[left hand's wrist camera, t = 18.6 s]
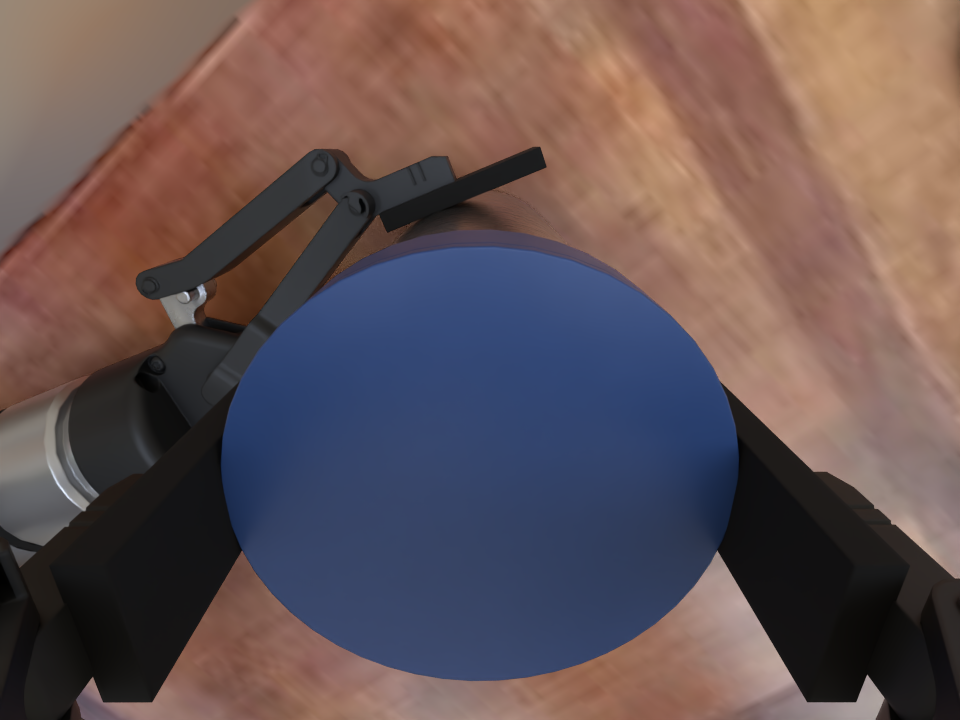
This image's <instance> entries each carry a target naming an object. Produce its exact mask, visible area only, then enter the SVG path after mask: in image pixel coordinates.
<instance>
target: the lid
mask: <svg viewBox="0 0 960 720" xmlns="http://www.w3.org/2000/svg"><path fill="white" fill-rule="evenodd" d="M738 472H739V451H738V442H737V434H736V426H735V423H734V419H733V416H732V412H731V409H730V405H729V402H728V398H727V396H726V394H725V391H724V389H723V387H722V385H721V383H720V381H719V379H718V377H717V375H716V373H715V370H714V368H713V367H712V365H711V364H710V362H709V361H708V359H707V358H706V357H705V355H704V354H703V352H702V351H701V349H700V348H699V346H698V345H697V344H696V342H695V341H694V340H693V338H692V337H691V336H690V335H689V334H688V333H687V332H686V331H685V330H684V329H683V328H682V327H681V326H680V325H679V324H678V323H677V322H676V321H675V319H674V318H673V317H672V316H671V315H670V314H668V313H667V312H666V311H665V310H664V309H663V308H662V307H660V306H659V305H658V304H657V303H656V302H655V301H654V300H652V299H651V298H650V297H649V296H648V295H647V294H645V293H644V292H643V291H642V290H641V289H640V288H638V287H637V286H636V285H635V284H633V283H632V282H631V281H629V280H628V279H627V278H626V277H624V276H623V275H622V274H621V273H619V272H618V271H617V270H615V269H614V268H612V267H610V266H608V265H607V264H605V263H603V262H601V261H600V260H598V259H596V258H594V257H593V256H591V255H589V254H587V253H585V252H582V251H580V250H577V249H575V248H572V247H570V246H567V245H565V244H562V243H560V242H557V241H554V240H550V239H546V238H542V237H538V236H534V235H530V234H526V233H518V232H509V231H500V230H456V231H450V232H444V233H437V234H431V235H425V236H421V237H418V238H414V239H411V240H408V241H404V242H401V243H398V244H394V245H391V246H389V247H387V248H385V249H383V250H380V251H378V252H376V253H374V254H372V255H369V256H367V257H365V258H363V259H361V260H360V261H358V262H356V263H355V264H353V265H352V266H350V267H349V268H347V269H346V270H344V271H342V272H341V273H339V274H338V275H336V276H335V277H334V278H333V279H331V280H330V281H329V282H328V283H327V284H326V285H324V286H323V287H322V288H321V289H320V290H319V291H318V292H316V293H315V294H314V295H313V296H312V297H311V298H309V299H308V300H307V301H306V302H305V303H304V304H303V305H301V306H300V307H299V308H298V309H297V310H296V311H295V312H293V313H292V314H291V315H290V316H289V317H288V318H287V319H286V320H284V321H283V322H282V323H281V324H280V325H279V326H278V327H277V329H276V330H275V331H274V332H273V333H272V335H271V336H270V337H269V338H268V339H267V340H266V342H265V343H264V344H263V345H262V346H261V347H260V349H259V350H258V351H257V353H256V355H255V356H254V358H253V360H252V361H251V363H250V364H249V366H248V368H247V369H246V371H245V373H244V374H243V376H242V378H241V380H240V382H239V385H238V387H237V390H236V392H235V395H234V397H233V399H232V402H231V404H230V407H229V411H228V415H227V420H226V424H225V428H224V432H223V439H222V454H221V475H222V484H223V489H224V494H225V499H226V503H227V508H228V512H229V516H230V521H231V525H232V528H233V530H234V533H235V535H236V537H237V540H238V542H239V545H240V547H241V549H242V551H243V552H244V554H245V556H246V557H247V559H248V561H249V563H250V564H251V566H252V568H253V569H254V571H255V572H256V574H257V575H258V576H259V578H260V579H261V580H262V581H263V583H264V584H265V585H266V587H267V588H268V589H269V590H270V592H271V593H272V594H273V595H274V596H275V597H276V598H277V599H278V600H279V601H280V602H281V603H282V604H283V605H284V606H285V607H286V608H287V609H288V610H289V611H290V612H291V613H292V614H293V615H295V616H296V617H297V618H298V619H300V620H301V621H302V622H304V623H305V624H306V625H307V626H309V627H310V628H311V629H312V630H314V631H315V632H317V633H319V634H320V635H322V636H323V637H325V638H327V639H328V640H330V641H331V642H333V643H334V644H336V645H338V646H340V647H342V648H344V649H346V650H348V651H350V652H352V653H354V654H356V655H358V656H360V657H363V658H365V659H368V660H371V661H373V662H376V663H379V664H382V665H384V666H387V667H390V668H394V669H398V670H402V671H405V672H409V673H413V674H418V675H423V676H429V677H435V678H441V679H453V680H466V681H492V680H507V679H516V678H526V677H531V676H536V675H541V674H546V673H551V672H555V671H559V670H562V669H565V668H569V667H572V666H575V665H579V664H582V663H584V662H587V661H589V660H591V659H594V658H596V657H599V656H601V655H604V654H606V653H608V652H610V651H612V650H614V649H616V648H617V647H619V646H621V645H623V644H625V643H627V642H629V641H630V640H632V639H634V638H635V637H637V636H638V635H640V634H641V633H642V632H644V631H645V630H647V629H648V628H650V627H651V626H653V625H654V624H655V623H657V622H658V621H659V620H660V619H661V618H662V617H664V616H665V615H666V614H667V613H668V612H669V611H671V610H672V609H673V608H674V607H675V606H676V605H677V604H678V603H679V602H680V601H681V600H682V599H683V598H684V597H685V595H686V594H687V593H688V592H689V591H690V590H691V589H692V588H693V587H694V586H695V584H696V583H697V581H698V580H699V579H700V577H701V576H702V574H703V573H704V572H705V570H706V569H707V567H708V566H709V565H710V563H711V561H712V559H713V557H714V555H715V554H716V552H717V550H718V548H719V546H720V544H721V542H722V540H723V538H724V535H725V532H726V530H727V526H728V522H729V518H730V513H731V509H732V504H733V500H734V495H735V491H736V486H737V481H738Z"/></svg>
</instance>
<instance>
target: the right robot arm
mask: <svg viewBox="0 0 960 720" xmlns="http://www.w3.org/2000/svg"><path fill="white" fill-rule="evenodd" d="M544 168H546V164H545V160H544V157H543V154H542V151H541V148H540V147H532V148H530V149H527V150H525V151H523V152H520V153H518V154H515V155H513V156H511V157H508V158H506V159H503V160H501V161H499V162H496V163H494V164H491V165H489V166H487V167H484V168H482V169H479V170H477V171H475V172H472V173H470V174H468V175H465V176H463V177H460V178H458V179H456V176H455V174H454V171H453V168H452V166H451V163H450V161H449V158H448V156H432V157H429V158H427V159H424V160H422V161H420V162H418V163H415V164H413V165H410V166H408V167H406V168H403V169H401V170H399V171H396V172H394V173H392V174H389V175H387V176H385V177H382V178H380V179H378V180H373V179H369V178H367V177H365V176H363V175H362V174H361V173H360V172H359V171H358V170H357V169H356V168H355V166H354V165H353V164H352V163H351V162H350V159H349V157H348V156H347V155H346V154H345V153H344V152H343V151H341V150H338V149H314V150H313V151H311V152H309V153H308V154H306V155H305V156H304V157H303V158H302V159H301V160H299V161H298V162H297V163H296V164H295V165H293V166H292V167H291V168H290V169H289V170H287V171H286V172H285V173H284V174H283V175H282V176H280V177H279V178H278V179H277V180H276V181H274V182H273V183H272V184H271V185H270V186H269V187H267V188H266V189H265V190H264V191H263V192H261V193H260V194H259V195H258V196H257V197H255V198H254V199H253V200H252V201H251V202H250V203H248V204H247V205H246V206H245V207H244V208H242V209H241V210H240V211H239V212H238V213H236V214H235V215H234V216H233V217H232V218H231V219H229V220H228V221H227V222H226V223H225V224H223V225H222V226H221V227H220V228H219V229H217V230H216V231H215V232H214V233H213V234H212V235H210V236H209V237H208V238H207V239H206V240H204V241H203V242H202V243H201V244H200V245H199V246H197V247H196V248H195V249H194V250H193V251H191V252H190V253H189V254H188V255H187V256H185V257H183V258H179V259H176V260H173V261H170V262H168V263H165V264H162V265H159V266H157V267H154V268H151V269H148V270H146V271H143V272H141V273H139V274H138V276H137V278H136V286H137V289H138V290H139V292H140V293H141V294H142V295H143V296H145V297H146V298H149V299H152V300H155V299H160V301H161V303H162V305H163V306H164V308H165V310H166V312H167V314H168V316H169V318H170V320H171V322H172V324H173V326H174V327H175V330H174V331H173V332H172V333H171V335H170V336H169V338H168V340H167V341H166V342H165V343H164V344H162V345H159V346H157V347H154V348H152V349H149V350H147V351H144V352H142V353H139V354H137V355H135V356H132V357H130V358H127V359H125V360H122V361H120V362H117V363H115V364H112V365H110V366H107V367H105V368H102V369H100V370H98V371H96V372H95V373H93V374H92V375H88V376H82V377H80V378H77V379H75V380H73V381H70V382H68V383H65V384H63V385H60V386H58V387H56V388H53V389H51V390H48V391H46V392H43V393H41V394H39V395H36V396H34V397H31V398H29V399H26V400H24V401H22V402H19V403H17V404H14V405H12V406H9V407H8V408H6V409H4V410H2V411H0V536H1V537H2V538H4V539H6V540H8V542H9V545H10V547H11V549H12V552H13V554H14V556H15V559H16V561H17V563H18V566H19V567H20V566H22V565H23V564H24V563H25V562H27V561H28V560H29V559H30V558H31V557H32V556H33V555H34V554H35V553H36V552H38V551H39V550H40V549H41V548H42V547H43V546H44V545H45V544H46V543H47V542H49V541H50V540H51V539H52V538H53V537H54V536H55V535H56V534H57V533H58V532H60V531H61V530H62V529H63V528H64V527H68V526H69V522H71V521H72V520H73V519H74V518H75V517H76V516H77V515H78V514H79V513H80V512H81V511H86V507H87V506H88V505H89V504H90V503H91V502H92V501H94V500H95V499H96V498H97V497H98V496H99V495H100V494H101V493H102V492H103V491H105V490H106V489H107V488H109V487H111V486H113V485H114V484H116V483H118V482H120V481H121V480H123V479H125V478H127V477H128V476H130V475H132V474H144V473H145V472H146V471H147V470H148V469H149V468H150V467H151V466H152V465H154V464H155V463H156V462H157V461H158V460H159V459H160V458H161V457H162V456H163V455H164V454H165V453H166V452H167V451H168V450H169V449H170V448H171V447H172V446H173V445H174V444H175V443H176V442H177V441H178V440H179V439H180V438H181V437H182V436H184V435H185V434H186V433H187V432H188V431H189V430H190V429H191V428H192V427H193V426H194V425H195V424H196V423H197V422H198V421H199V420H200V419H201V418H202V417H203V416H204V415H205V414H206V413H207V412H208V411H209V410H210V409H211V408H212V407H213V406H215V405H216V404H217V403H218V402H219V401H220V400H221V399H222V398H223V397H224V396H225V395H226V394H227V393H228V392H229V391H230V390H231V389H232V388H233V387H234V386H235V385H236V384H237V383H238V382H239V381H240V380H241V378H242V376H243V374H244V373H245V371H246V369H247V368H248V366H249V364H250V363H251V361H252V360H253V358H254V356H255V355H256V353H257V351H258V350H259V349H260V347H261V346H262V345H263V344H264V343H265V342H266V340H267V339H268V338H269V337H270V336H271V335H272V333H273V332H274V331H275V330H276V329H277V327H278V326H279V325H280V324H281V323H282V322H283V321H284V320H286V319H287V318H288V317H289V316H290V315H291V314H292V313H293V312H295V311H296V310H297V309H298V308H299V307H300V306H301V305H303V304H304V303H305V302H306V301H307V300H308V299H309V298H311V297H312V296H313V295H314V294H315V293H316V292H318V291H319V290H320V289H321V288H322V287H323V285H324V284H325V283H326V281H327V280H328V279H329V278H330V276H331V275H332V274H333V272H334V271H335V270H336V268H337V267H338V266H339V264H340V263H341V262H342V260H343V259H344V258H345V257H346V255H347V254H348V253H349V251H350V250H351V249H352V247H353V246H354V245H355V243H356V242H357V241H358V240H359V238H360V237H361V236H362V234H363V233H364V232H365V230H366V229H367V228H368V226H369V225H370V224H371V222H372V221H373V220H374V219H375V217H376V216H377V215H380V218H381V220H382V222H383V224H384V227H385V229H386V231H387V233H388V232H390V231H392V230H395V229H397V228H400V227H402V226H405V225H407V224H410V223H412V222H414V221H417V220H419V219H422V218H424V217H427V216H429V215H431V214H434V213H436V212H438V211H441V210H444V209H446V208H449V207H451V206H453V205H456V204H458V203H461V202H463V201H466V200H468V199H470V198H473V197H475V196H478V195H480V194H483V193H485V192H488V191H490V190H492V189H495V188H497V187H500V186H502V185H505V184H507V183H509V182H512V181H514V180H517V179H519V178H522V177H524V176H526V175H529V174H531V173H534V172H536V171H539V170H541V169H544ZM327 192H328V193H329V194H330V195H331V196H332V197H333V198H334V199H335V200H336V201H337V202H338V205H337V206H336V208H335V209H334V210H333V212H332V213H331V215H330V216H329V217H328V219H327V220H326V221H325V223H324V224H323V226H322V227H321V228H320V230H319V231H318V232H317V234H316V235H315V236H314V238H313V239H312V241H311V242H310V243H309V245H308V246H307V247H306V249H305V250H304V252H303V253H302V254H301V256H300V257H299V258H298V260H297V261H296V263H295V264H294V265H293V267H292V268H291V269H290V271H289V272H288V273H287V275H286V276H285V278H284V279H283V280H282V282H281V283H280V284H279V286H278V287H277V289H276V290H275V291H274V293H273V294H272V295H271V297H270V298H269V299H268V301H267V302H266V304H265V305H264V306H263V308H262V309H261V310H260V312H259V313H258V314H257V315H256V316H255V317H254V318H253V319H252V321H251V322H250V323H249V324H248V325H247V326H245V325H240V324H236V323H232V322H228V321H223V320H219V319H215V318H211V317H206V316H205V313H204V307H205V304H206V303H207V302H208V301H209V300H211V299H212V298H214V296H215V295H216V287H217V283H216V281H215V280H214V278H216V277H218V276H220V275H222V274H224V273H226V272H228V271H230V270H231V269H233V268H234V267H236V266H237V265H238V264H240V263H241V262H242V261H243V260H245V259H246V258H247V257H248V256H250V255H251V254H252V253H253V252H254V251H256V250H257V249H258V248H259V247H261V246H262V245H263V244H264V243H266V242H267V241H268V240H269V239H270V238H272V237H273V236H274V235H275V234H277V233H278V232H279V231H280V230H282V229H283V228H284V227H285V226H287V225H288V224H289V223H290V222H291V221H293V220H294V219H295V218H296V217H298V216H299V215H300V214H301V213H303V212H304V211H305V210H306V209H307V208H309V207H310V206H311V205H312V204H314V203H315V202H316V201H317V200H319V199H320V198H321V197H322V196H323V195H325V194H326V193H327ZM81 720H84V719H82V718H81Z"/></svg>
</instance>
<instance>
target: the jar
mask: <svg viewBox="0 0 960 720" xmlns="http://www.w3.org/2000/svg"><path fill="white" fill-rule="evenodd" d="M456 230H500V231H509V232H518V233H526V234H530V235H534V236H538V237H542V238H546V239H550V240H554V241H557V242H560V243H562V244H565V245H567V246H569V245H568V244H567V243H566V242H565V241H564V240H563V238H562V237H561V236H560V235H559V234H558V233H557V232H556V231H555V230H554V229H553V228H552V227H551V226H550V224H549V223H548V222H547V221H546V220H545V219H544V218H543V217H542V216H541V215H540V214H539V213H538V212H537V211H536V210H535V209H533V208H532V207H531V206H530V205H528V204H527V203H525V202H523V201H522V200H520V199H518V198H516V197H514V196H511V195H509V194H506V193H502V192H498V191H493V190H490V191H488V192H485V193H483V194H480V195H478V196H475V197H473V198H470V199H468V200H466V201H463V202H461V203H458V204H456V205H453V206H451V207H449V208H446V209H444V210H441V211H438V212H436V213H434V214H431V215H429V216H427V217H424V218H422V219H419V220H417V221H414V222H412V223H411V224H410V225H409V226H408V227H407V229H406V230H405V231H404V232H403V233H402V234H401V235H400V236H399V237H398V238H397V239H396V240H395V241H394V243H393V244H392V245H394V244H398V243H401V242H404V241H408V240H411V239H414V238H418V237H421V236H425V235H431V234H437V233H444V232H450V231H456Z"/></svg>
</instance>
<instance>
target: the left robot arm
mask: <svg viewBox="0 0 960 720" xmlns="http://www.w3.org/2000/svg"><path fill="white" fill-rule="evenodd" d="M239 382H240V381H239ZM239 382H238V383H237V384H236V385H235V386H234V387H233V388H232V389H231V390H230V391H229V392H228V393H227V394H226V395H225V396H224V397H223V398H222V399H221V400H220V401H219V402H218V403H217V404H216V405H215V406H213V407H212V408H211V409H210V410H209V411H208V412H207V413H206V414H205V415H204V416H203V417H202V418H201V419H200V420H199V421H198V422H197V423H196V424H195V425H194V426H193V427H192V428H191V429H190V430H189V431H188V432H187V433H186V434H185V435H184V436H182V437H181V438H180V439H179V440H178V441H177V442H176V443H175V444H174V445H173V446H172V447H171V448H170V449H169V450H168V451H167V452H166V453H165V454H164V455H163V456H162V457H161V458H160V459H159V460H158V461H157V462H156V463H155V464H154V465H152V466H151V467H150V468H149V469H148V470H147V471H146V472H145V473H144V474H132V475H130V476H128V477H127V478H125V479H123V480H121V481H120V482H118V483H116V484H114V485H113V486H111V487H109V488H107V489H106V490H105V491H103V492H102V493H101V494H100V495H99V496H98V497H97V498H96V499H95V500H94V501H92V502H91V503H90V504H89V505H88V506H87V507H86V511H81V512H80V513H79V514H78V515H77V516H76V517H75V518H74V519H73V520H72V521H71V522H69V526H68V527H64V528H63V529H62V530H61V531H60V532H58V533H57V534H56V535H55V536H54V537H53V538H52V539H51V540H50V541H49V542H47V543H46V544H45V545H44V546H43V547H42V548H41V549H40V550H39V551H38V552H36V553H35V554H34V555H33V556H32V557H31V558H30V559H29V560H28V561H27V562H25V563H24V564H23V565H22V566H21V567H20V568H19V566H18V563H17V561H16V559H15V556H14V554H13V552H12V549H11V547H10V545H9V542H8V540H6V539H4V538H2V537H1V536H0V720H81V714H80V709H79V706H78V704H77V702H76V699H77V697H78V696H79V694H80V693H81V692H82V690H83V689H84V688H85V686H86V685H87V684H88V682H89V681H90V679H91V678H92V677H93V678H94V680H95V683H96V685H97V688H98V690H99V693H100V695H101V698H102V700H103V702H153V700H154V698H155V696H156V695H157V693H158V691H159V690H160V688H161V686H162V685H163V683H164V681H165V680H166V678H167V676H168V674H169V673H170V671H171V669H172V668H173V666H174V664H175V663H176V661H177V659H178V658H179V656H180V654H181V653H182V651H183V649H184V647H185V646H186V644H187V642H188V641H189V639H190V637H191V636H192V634H193V632H194V631H195V629H196V627H197V625H198V624H199V622H200V620H201V619H202V617H203V615H204V614H205V612H206V610H207V609H208V607H209V605H210V604H211V602H212V600H213V598H214V597H215V595H216V593H217V592H218V590H219V588H220V587H221V585H222V583H223V582H224V580H225V578H226V576H227V575H228V573H229V571H230V570H231V568H232V566H233V565H234V563H235V561H236V560H237V558H238V556H239V555H240V553H241V551H242V549H241V547H240V545H239V542H238V540H237V537H236V535H235V533H234V530H233V528H232V525H231V521H230V516H229V512H228V508H227V503H226V499H225V494H224V489H223V484H222V475H221V454H222V439H223V432H224V428H225V424H226V420H227V415H228V411H229V407H230V404H231V402H232V399H233V397H234V395H235V392H236V390H237V387H238V385H239ZM720 383H721V382H720ZM721 385H722V387H723V389H724V391H725V394H726V396H727V398H728V402H729V405H730V409H731V412H732V416H733V419H734V423H735V426H736V434H737V442H738V451H739V472H738V481H737V486H736V491H735V495H734V500H733V504H732V509H731V513H730V518H729V522H728V526H727V530H726V532H725V535H724V538H723V540H722V542H721V544H720V546H719V548H718V552H719V554H720V556H721V557H722V559H723V561H724V562H725V564H726V566H727V567H728V569H729V571H730V572H731V574H732V576H733V577H734V579H735V581H736V583H737V584H738V586H739V588H740V589H741V591H742V593H743V594H744V596H745V598H746V599H747V601H748V603H749V605H750V606H751V608H752V610H753V611H754V613H755V615H756V616H757V618H758V620H759V621H760V623H761V625H762V626H763V628H764V630H765V632H766V633H767V635H768V637H769V638H770V640H771V642H772V643H773V645H774V647H775V648H776V650H777V652H778V654H779V655H780V657H781V659H782V660H783V662H784V664H785V665H786V667H787V669H788V670H789V672H790V674H791V675H792V677H793V679H794V681H795V682H796V684H797V686H798V687H799V689H800V691H801V692H802V694H803V696H804V697H805V699H806V701H807V702H856V701H857V699H858V696H859V693H860V691H861V688H862V686H863V683H864V681H865V678H866V676H867V675H868V676H869V677H870V679H871V680H872V681H873V683H874V684H875V685H876V687H877V688H878V690H879V691H880V692H881V694H882V695H883V696H884V698H885V699H884V702H883V704H882V706H881V709H880V711H879V713H878V716H877V718H876V720H960V579H955V578H954V577H952V576H951V575H950V574H949V573H948V572H947V571H946V570H945V569H944V568H943V567H941V566H940V565H939V564H938V563H937V562H936V561H935V560H934V559H933V558H931V557H930V556H929V555H928V554H927V553H926V552H925V551H924V550H923V549H922V548H920V547H919V546H918V545H917V544H916V543H915V542H914V541H913V540H912V539H910V538H909V537H908V536H907V535H906V534H905V533H904V532H903V531H902V530H901V529H899V528H898V527H897V526H896V525H892V524H891V520H889V519H888V518H887V517H886V516H885V515H884V514H883V513H882V512H881V511H880V510H878V509H874V505H873V504H872V503H871V502H870V501H868V500H867V499H866V498H865V497H864V496H863V495H862V494H861V493H860V492H858V491H857V490H856V489H855V488H854V487H852V486H851V485H849V484H847V483H845V482H844V481H842V480H840V479H838V478H836V477H835V476H833V475H831V474H829V473H828V472H813V471H812V470H811V469H810V468H809V467H808V466H807V465H806V464H805V463H804V462H803V461H802V460H801V459H800V458H799V457H798V456H797V455H795V454H794V453H793V452H792V451H791V450H790V449H789V448H788V447H787V446H786V445H785V444H784V443H783V442H782V441H781V440H780V439H779V438H778V437H777V436H776V435H775V434H774V433H773V432H772V431H771V430H770V429H769V428H768V427H767V426H766V425H764V424H763V423H762V422H761V421H760V420H759V419H758V418H757V417H756V416H755V415H754V414H753V413H752V412H751V411H750V410H749V409H748V408H747V407H746V406H745V405H744V404H743V403H742V402H741V401H740V400H739V399H738V398H737V397H736V396H735V395H733V394H732V393H731V392H730V391H729V390H728V389H727V388H726V387H725V386H724V385H723V384H722V383H721Z"/></svg>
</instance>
